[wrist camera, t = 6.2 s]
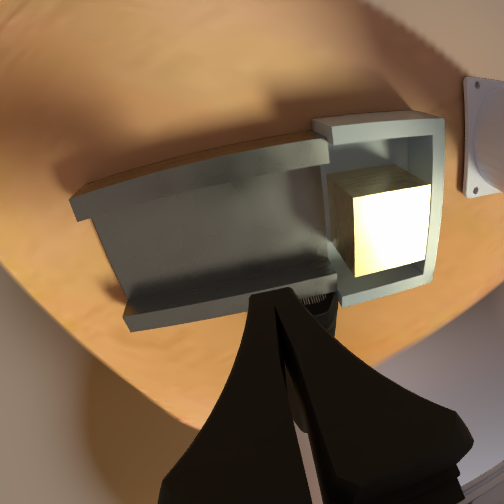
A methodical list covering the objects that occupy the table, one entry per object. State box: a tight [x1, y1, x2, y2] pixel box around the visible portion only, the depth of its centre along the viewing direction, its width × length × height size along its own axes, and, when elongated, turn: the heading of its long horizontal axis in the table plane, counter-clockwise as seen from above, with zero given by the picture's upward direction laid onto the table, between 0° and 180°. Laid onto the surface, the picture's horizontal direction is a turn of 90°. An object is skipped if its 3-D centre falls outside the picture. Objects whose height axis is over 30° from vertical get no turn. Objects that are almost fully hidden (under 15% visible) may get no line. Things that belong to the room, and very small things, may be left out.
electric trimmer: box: [286, 292, 338, 433], centre depth 21 cm, size 4×16×3 cm, turn 6°
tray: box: [312, 110, 445, 308], centre depth 16 cm, size 6×10×3 cm, turn 11°
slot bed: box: [69, 130, 338, 332], centre depth 16 cm, size 12×8×2 cm
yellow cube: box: [326, 164, 431, 277], centre depth 15 cm, size 4×4×4 cm
